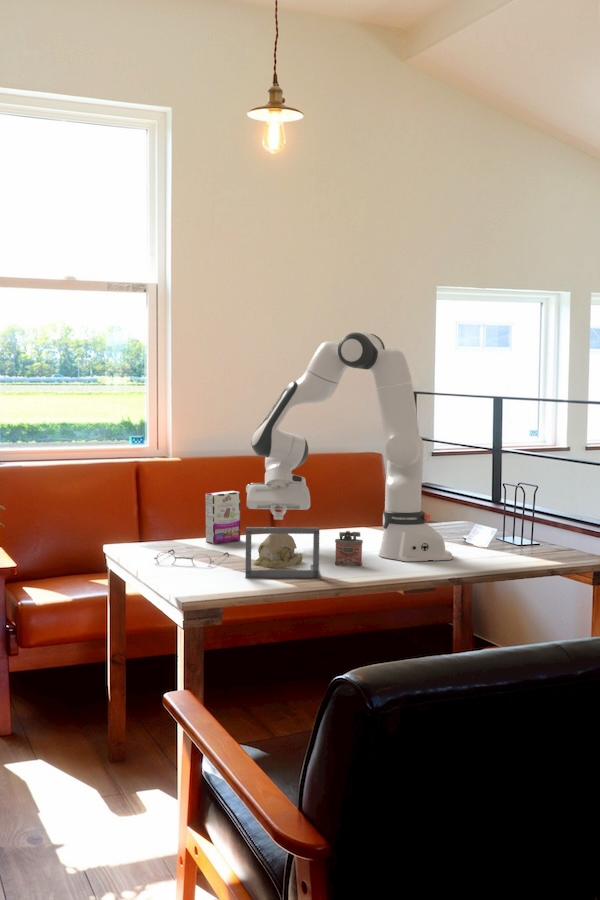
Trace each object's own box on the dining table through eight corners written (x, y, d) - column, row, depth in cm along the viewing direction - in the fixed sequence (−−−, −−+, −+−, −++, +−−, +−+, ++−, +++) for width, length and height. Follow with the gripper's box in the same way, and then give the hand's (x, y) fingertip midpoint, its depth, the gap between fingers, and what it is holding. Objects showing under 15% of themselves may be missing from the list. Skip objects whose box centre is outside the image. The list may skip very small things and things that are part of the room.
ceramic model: (270, 569, 264) (270, 535, 264) (247, 563, 273) (247, 529, 272) (308, 564, 273) (308, 530, 273) (284, 558, 282) (284, 525, 281)
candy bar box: (231, 538, 313) (232, 490, 312) (240, 540, 310) (241, 491, 308) (204, 542, 306) (204, 492, 305) (213, 544, 302) (213, 494, 301)
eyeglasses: (153, 565, 270) (153, 551, 270) (173, 555, 288) (173, 542, 288) (213, 568, 267) (213, 555, 266) (229, 558, 285) (230, 545, 285)
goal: (316, 569, 265) (316, 522, 264) (318, 578, 254) (319, 528, 253) (245, 569, 264) (246, 521, 262) (245, 577, 253) (245, 527, 252)
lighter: (334, 565, 271) (334, 531, 270) (335, 563, 274) (335, 529, 273) (361, 566, 270) (362, 532, 269) (362, 564, 273) (363, 530, 272)
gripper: (246, 476, 296) (245, 511, 287) (310, 477, 297) (311, 512, 288) (246, 489, 300) (245, 523, 291) (309, 490, 301) (310, 524, 292)
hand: (278, 518), depth 290 cm, fingers closed
